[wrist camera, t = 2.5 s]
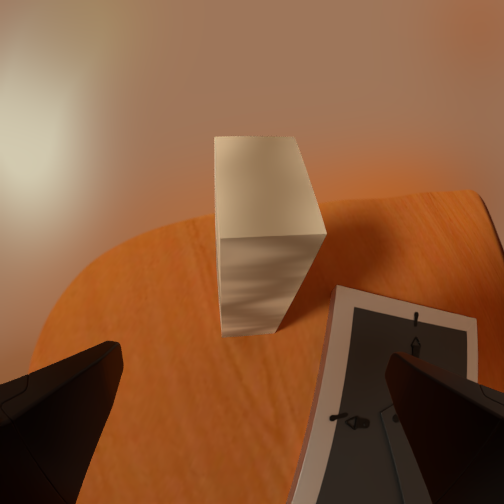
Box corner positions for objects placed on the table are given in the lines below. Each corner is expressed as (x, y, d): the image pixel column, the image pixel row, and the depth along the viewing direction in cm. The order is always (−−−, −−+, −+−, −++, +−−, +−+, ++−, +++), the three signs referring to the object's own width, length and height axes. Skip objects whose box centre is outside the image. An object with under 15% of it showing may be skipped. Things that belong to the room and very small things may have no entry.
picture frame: (437, 523, 13) (464, 326, 24) (456, 527, 11) (481, 315, 22) (273, 532, 14) (329, 294, 25) (280, 546, 12) (339, 280, 23)
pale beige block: (221, 337, 22) (219, 238, 11) (216, 267, 25) (214, 136, 14) (274, 333, 22) (326, 233, 11) (264, 264, 25) (294, 136, 14)
